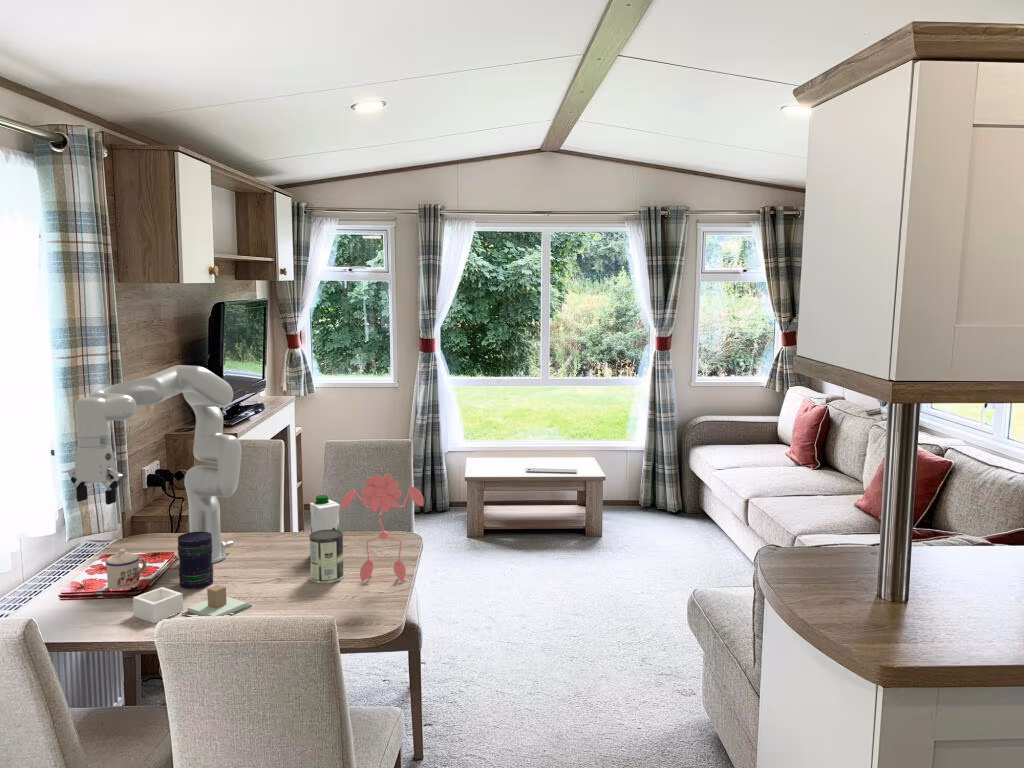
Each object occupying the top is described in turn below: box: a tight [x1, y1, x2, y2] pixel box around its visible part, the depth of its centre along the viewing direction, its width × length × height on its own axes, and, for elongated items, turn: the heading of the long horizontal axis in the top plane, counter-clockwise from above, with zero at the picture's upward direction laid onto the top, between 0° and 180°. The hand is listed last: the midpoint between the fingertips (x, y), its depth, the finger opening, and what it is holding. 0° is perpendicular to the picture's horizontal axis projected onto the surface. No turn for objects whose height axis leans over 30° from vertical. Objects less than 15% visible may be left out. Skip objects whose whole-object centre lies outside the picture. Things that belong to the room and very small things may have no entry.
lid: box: [187, 584, 247, 616], centre depth 218 cm, size 11×11×6 cm
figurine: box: [340, 473, 425, 594], centre depth 237 cm, size 15×26×35 cm, turn 91°
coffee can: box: [309, 529, 345, 584], centre depth 243 cm, size 10×10×14 cm
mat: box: [181, 603, 253, 616], centre depth 218 cm, size 14×12×1 cm
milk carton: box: [309, 494, 341, 534], centre depth 263 cm, size 9×9×20 cm
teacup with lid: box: [105, 548, 147, 590], centre depth 235 cm, size 12×9×12 cm
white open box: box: [132, 586, 184, 624], centre depth 215 cm, size 9×9×6 cm
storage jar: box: [177, 531, 214, 591], centre depth 237 cm, size 10×10×15 cm
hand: (96, 501), depth 217 cm, fingers open, 9 cm apart
